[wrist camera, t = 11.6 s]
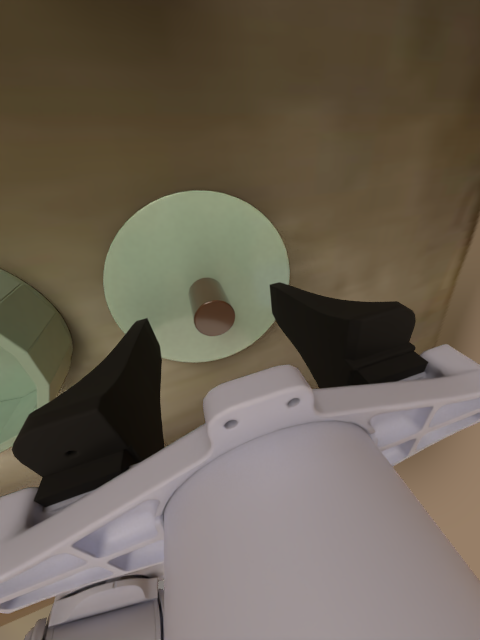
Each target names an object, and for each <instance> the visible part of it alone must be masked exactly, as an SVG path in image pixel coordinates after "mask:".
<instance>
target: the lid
mask: <svg viewBox="0 0 480 640" xmlns="http://www.w3.org/2000/svg"><path fill="white" fill-rule="evenodd" d="M289 276H290V270H289V260H288V256H287V252H286V249H285V246H284V244H283V241H282V239H281V237H280V235H279V234H278V232H277V230H276V229H275V227H274V226H273V225H272V223H271V222H270V221H269V220H268V219H267V218H266V217H265V216H264V215H263V214H262V213H261V212H260V211H259V210H257V209H256V208H254V207H253V206H251V205H250V204H248V203H246V202H244V201H242V200H240V199H238V198H236V197H234V196H231V195H228V194H225V193H221V192H215V191H210V190H189V191H181V192H176V193H173V194H169V195H166V196H163V197H161V198H158V199H156V200H154V201H152V202H150V203H148V204H147V205H145V206H144V207H142V208H141V209H139V210H138V211H137V212H136V213H135V214H134V215H132V216H131V217H130V218H129V219H128V220H127V221H126V223H125V224H124V225H123V226H122V228H121V229H120V230H119V231H118V233H117V235H116V236H115V238H114V240H113V242H112V244H111V246H110V248H109V251H108V254H107V256H106V260H105V266H104V273H103V286H104V293H105V298H106V301H107V305H108V308H109V310H110V312H111V314H112V316H113V318H114V320H115V321H116V323H117V324H118V326H119V327H120V329H121V330H122V331H123V332H124V333H125V334H126V333H127V332H128V330H129V329H130V328H131V326H132V325H133V324H134V323H135V322H136V321H138V320H142V319H145V318H147V319H148V321H149V323H150V325H151V327H152V329H153V332H154V334H155V336H156V338H157V340H158V342H159V345H160V350H161V357H162V358H165V359H169V360H173V361H179V362H191V363H196V362H208V361H214V360H218V359H222V358H225V357H228V356H231V355H233V354H235V353H237V352H239V351H242V350H243V349H245V348H247V347H248V346H250V345H251V344H252V343H254V342H255V341H257V340H258V339H259V338H260V337H261V336H262V335H263V334H264V333H265V332H266V331H267V330H268V329H269V328H270V327H271V325H272V324H273V322H274V321H275V318H274V316H273V314H272V307H271V295H270V285H271V284H274V283H278V282H281V283H284V284H287V285H289Z"/></svg>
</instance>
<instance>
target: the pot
mask: <svg viewBox="0 0 480 640" xmlns="http://www.w3.org/2000/svg"><path fill="white" fill-rule="evenodd" d="M72 353H73V346H72V339H71V335H70V332H69V330H68V327H67V325H66V323H65V321H64V320H63V318H62V316H61V315H60V314H59V312H58V311H57V310H56V309H55V307H54V306H53V305H52V304H51V303H50V302H49V301H48V300H47V299H46V298H45V297H44V296H43V295H41V294H40V293H39V292H38V291H36V290H35V289H34V288H32V287H31V286H30V285H28V284H27V283H25V282H23V281H22V280H20V279H19V278H17V277H15V276H14V275H12V274H10V273H8V272H6V271H4V270H2V269H0V453H1V452H3V451H5V450H7V449H8V448H10V447H12V446H13V443H14V441H15V440H16V438H17V436H18V434H19V432H20V430H21V428H22V426H23V424H24V423H25V421H26V419H27V417H28V415H29V414H30V413H32V412H33V411H35V410H37V409H38V408H40V407H42V406H43V405H45V404H47V403H48V402H50V401H52V400H53V399H55V398H56V397H57V395H58V393H59V391H60V388H61V386H62V384H63V382H64V380H65V377H66V375H67V373H68V371H69V369H70V362H71V359H72Z"/></svg>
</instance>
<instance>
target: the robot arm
mask: <svg viewBox="0 0 480 640" xmlns="http://www.w3.org/2000/svg"><path fill="white" fill-rule="evenodd" d="M270 295H271V307H272V314H273V316H274V318H275V320H276V322H277V323H278V325H279V327H280V328H281V329H282V331H283V332H284V333H285V335H286V336H287V337H288V339H289V340H290V341H291V342H292V344H293V345H294V346H295V348H296V349H297V350H298V352H299V353H300V355H301V356H302V358H303V360H304V361H305V363H306V365H307V366H308V368H309V370H310V372H311V373H312V375H313V377H314V379H315V380H316V382H317V384H318V386H319V388H320V389H311V387H310V386H309V384H308V383H307V381H306V380H305V378H304V377H303V375H302V374H301V372H300V371H299V369H298V368H296V367H294V366H291V365H280V366H274V367H271V368H268V369H265V370H262V371H259V372H256V373H253V374H250V375H247V376H243V377H240V378H237V379H234V380H231V381H228V382H225V383H222V384H220V385H218V386H216V387H214V388H213V389H211V390H210V391H209V392H208V394H207V395H206V396H205V397H204V399H203V411H204V417H205V422H206V423H205V424H203V425H201V426H200V427H198V428H196V429H195V430H193V431H191V432H190V433H188V434H186V435H185V436H183V437H181V438H180V439H178V440H176V441H175V442H173V443H171V444H170V445H168V446H167V447H165V448H164V440H163V431H162V420H161V407H160V384H161V363H162V359H161V350H160V345H159V342H158V340H157V338H156V336H155V334H154V332H153V329H152V327H151V325H150V323H149V321H148V319H147V318H145V319H142V320H138V321H136V322H135V323H134V324H133V325H132V326H131V328H130V329H129V330H128V332H127V333H126V334H125V336H124V337H123V338H122V340H121V341H120V342H119V343H118V345H117V346H116V347H115V348H114V349H113V350H112V351H111V353H110V354H109V355H108V356H107V357H106V358H105V359H104V360H103V361H102V362H101V363H100V364H99V365H98V366H97V367H96V368H95V369H94V370H93V371H91V372H90V373H89V374H88V375H86V376H85V377H84V378H83V379H82V380H80V381H79V382H78V383H77V384H75V385H74V386H72V387H71V388H70V389H68V390H67V391H65V392H64V393H62V394H61V395H60V396H58V397H56V398H55V399H53V400H52V401H50V402H48V403H47V404H45V405H43V406H42V407H40V408H38V409H37V410H35V411H33V412H32V413H30V414H29V415H28V417H27V419H26V421H25V423H24V424H23V426H22V428H21V430H20V432H19V434H18V436H17V438H16V440H15V441H14V443H13V448H12V451H13V454H14V456H15V457H16V458H17V459H18V460H19V461H20V462H21V463H22V464H24V465H25V466H27V467H28V468H30V469H31V470H33V471H34V472H36V473H37V474H39V475H40V476H42V477H43V478H42V480H41V483H40V486H39V488H38V487H29V488H25V489H22V490H19V491H16V492H13V493H10V494H7V495H4V496H1V497H0V613H12V612H14V611H16V610H19V609H22V608H24V607H27V606H29V605H32V604H35V603H37V602H40V601H42V600H45V599H48V598H51V597H54V596H55V600H54V603H53V606H52V609H51V612H50V614H49V617H48V620H47V624H46V619H47V618H43V619H40V620H38V621H37V622H36V624H35V627H33V628H32V629H31V630H30V631H29V632H28V633H27V634H26V636H25V639H24V640H480V581H479V579H478V578H477V577H476V575H475V574H474V573H473V571H472V570H471V569H470V567H469V566H468V565H467V564H466V562H465V561H464V560H463V558H462V557H461V556H460V554H459V553H458V552H457V550H456V549H455V548H454V547H453V545H452V544H451V543H450V541H449V540H448V539H447V537H446V536H445V535H444V534H443V532H442V531H441V529H440V528H439V527H438V526H437V525H436V523H435V522H434V520H433V519H432V518H431V516H430V515H429V514H428V512H427V511H426V510H425V509H424V507H423V506H422V505H421V503H420V502H419V501H418V499H417V498H416V497H415V495H414V494H413V493H412V492H411V490H410V489H409V488H408V486H407V485H406V484H405V482H404V481H403V480H402V478H401V477H400V476H399V475H398V473H397V472H396V471H395V469H394V468H393V466H394V465H396V464H398V463H400V462H402V461H403V460H405V459H407V458H409V457H411V456H412V455H414V454H416V453H418V452H420V451H421V450H423V449H425V448H427V447H429V446H431V445H433V444H434V443H436V442H438V441H440V440H442V439H444V438H446V437H448V436H450V435H452V434H454V433H456V432H458V431H460V430H462V429H465V428H467V427H469V426H472V425H474V424H476V423H479V422H480V365H479V364H478V363H476V362H475V361H473V360H471V359H470V358H468V357H467V356H465V355H463V354H462V353H460V352H458V351H457V350H456V349H454V348H452V347H451V346H449V345H448V344H444V345H441V346H438V347H435V348H432V349H429V350H426V351H424V352H423V353H422V354H421V355H418V354H417V353H416V352H414V350H415V346H414V345H412V344H411V343H410V342H409V341H410V338H411V335H412V332H413V329H414V326H415V314H414V312H413V311H412V310H411V309H409V308H407V307H406V306H404V305H402V304H401V303H399V302H359V301H348V300H340V299H334V298H329V297H324V296H320V295H317V294H313V293H310V292H307V291H304V290H301V289H298V288H295V287H293V286H290V285H287V284H284V283H281V282H278V283H274V284H271V285H270ZM161 580H164V590H163V589H158V581H161ZM45 625H46V626H45Z"/></svg>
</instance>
